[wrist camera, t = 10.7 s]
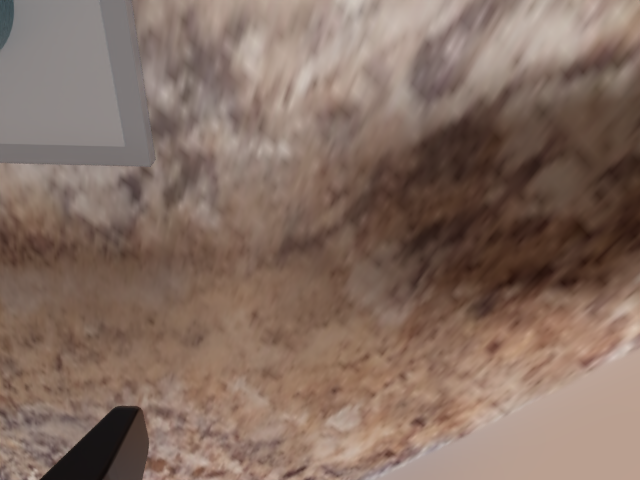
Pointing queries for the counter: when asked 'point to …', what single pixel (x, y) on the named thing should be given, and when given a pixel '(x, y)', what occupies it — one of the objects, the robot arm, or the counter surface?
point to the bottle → (6, 20)
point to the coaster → (73, 86)
